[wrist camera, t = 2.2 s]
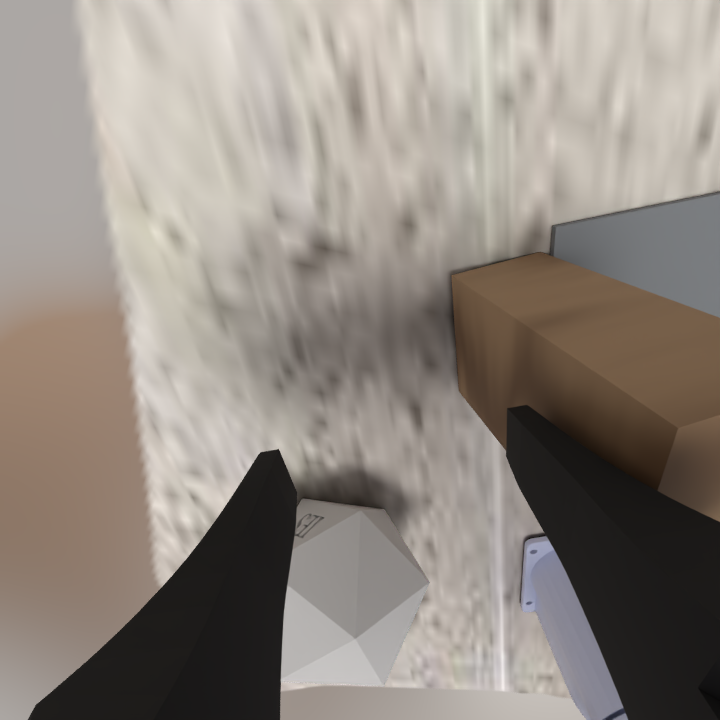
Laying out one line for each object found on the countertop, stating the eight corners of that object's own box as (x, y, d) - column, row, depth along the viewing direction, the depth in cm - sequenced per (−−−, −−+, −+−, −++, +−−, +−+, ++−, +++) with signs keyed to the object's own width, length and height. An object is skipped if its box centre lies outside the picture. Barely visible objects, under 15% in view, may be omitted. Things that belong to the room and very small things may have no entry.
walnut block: (533, 369, 19) (753, 550, 10) (458, 391, 19) (622, 596, 10) (540, 251, 16) (861, 369, 7) (451, 275, 15) (678, 427, 7)
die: (343, 436, 21) (202, 606, 15) (477, 539, 20) (381, 778, 14) (318, 487, 28) (211, 621, 22) (417, 568, 26) (333, 739, 20)
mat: (746, 362, 19) (752, 365, 19) (539, 399, 20) (542, 403, 20) (825, 170, 15) (834, 171, 14) (552, 225, 15) (556, 227, 15)
